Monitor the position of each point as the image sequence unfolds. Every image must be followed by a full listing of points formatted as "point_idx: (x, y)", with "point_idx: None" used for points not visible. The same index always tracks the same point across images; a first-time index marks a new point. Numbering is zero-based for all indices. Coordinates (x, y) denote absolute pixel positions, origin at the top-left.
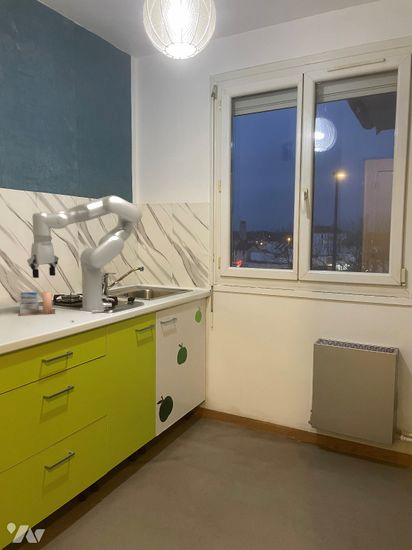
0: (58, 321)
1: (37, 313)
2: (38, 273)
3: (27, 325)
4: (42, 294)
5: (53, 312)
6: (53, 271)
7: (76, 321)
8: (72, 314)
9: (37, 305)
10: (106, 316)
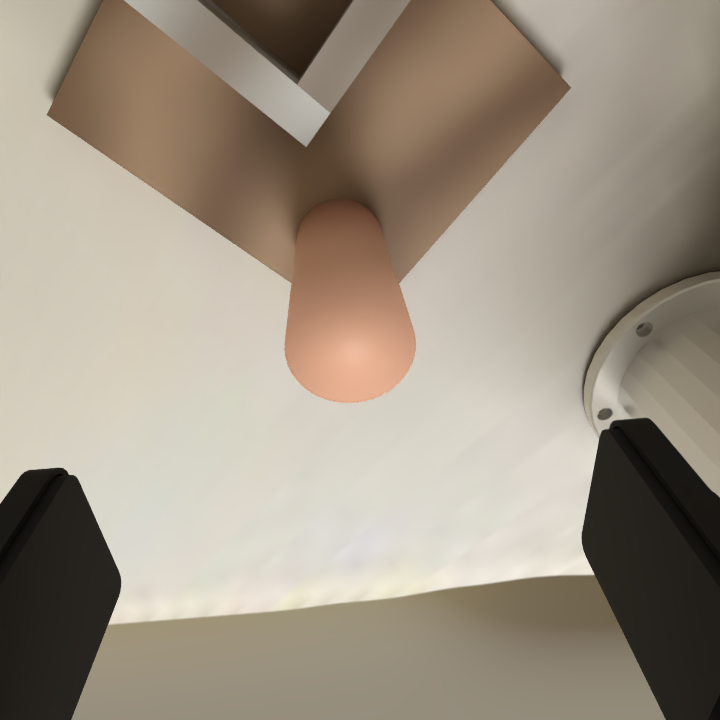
0: (251, 468)
1: (270, 168)
2: (76, 684)
3: (20, 420)
4: (290, 313)
5: (399, 257)
6: (626, 628)
7: (325, 539)
8: (498, 354)
9: (299, 137)
10: (541, 556)
